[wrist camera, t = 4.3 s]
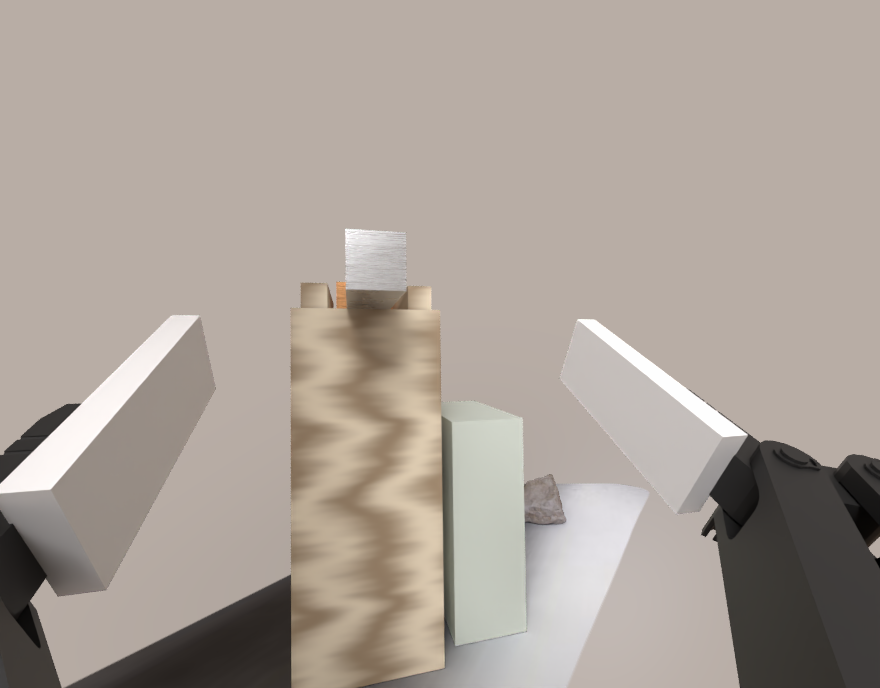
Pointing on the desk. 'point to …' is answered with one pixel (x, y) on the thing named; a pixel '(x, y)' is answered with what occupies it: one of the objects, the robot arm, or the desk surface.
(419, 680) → the desk surface
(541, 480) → the stone
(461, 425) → the pale green block
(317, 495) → the stand
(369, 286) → the grey long bar
